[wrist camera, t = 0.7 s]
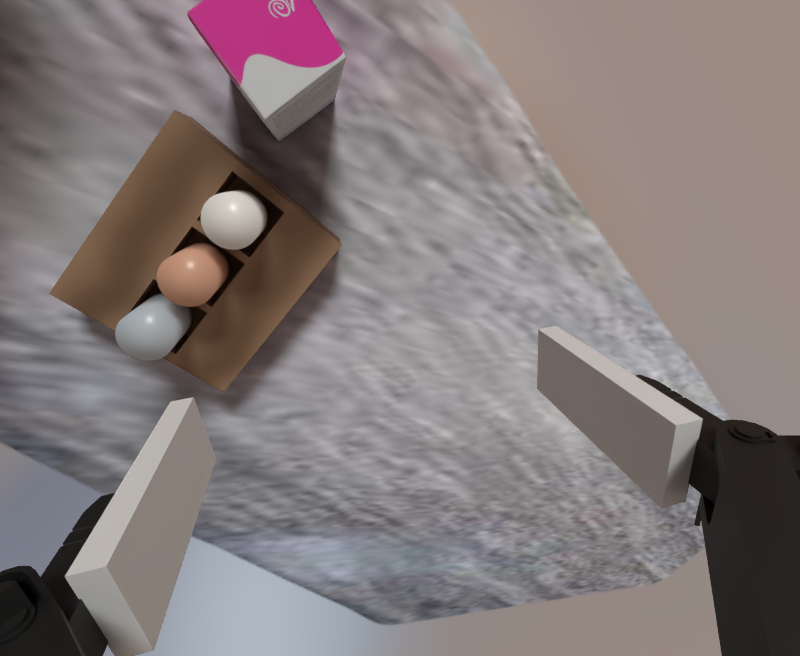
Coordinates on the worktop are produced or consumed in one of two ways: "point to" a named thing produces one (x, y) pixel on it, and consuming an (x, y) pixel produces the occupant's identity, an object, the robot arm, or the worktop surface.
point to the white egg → (234, 219)
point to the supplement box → (274, 56)
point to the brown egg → (193, 274)
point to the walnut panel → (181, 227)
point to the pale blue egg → (153, 328)
